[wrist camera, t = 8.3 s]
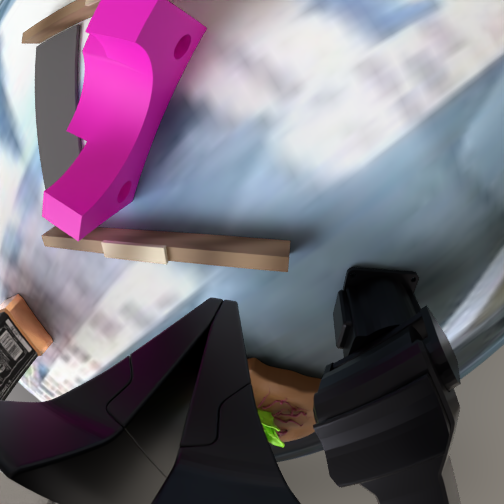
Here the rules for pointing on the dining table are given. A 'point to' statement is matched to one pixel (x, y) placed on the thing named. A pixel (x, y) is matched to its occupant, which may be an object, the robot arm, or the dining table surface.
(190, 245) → the lane rails
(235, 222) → the dining table surface
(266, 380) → the plant
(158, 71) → the toy block
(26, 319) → the whiskey bottle
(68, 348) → the dining table surface
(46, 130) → the trap mat
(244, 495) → the robot arm
